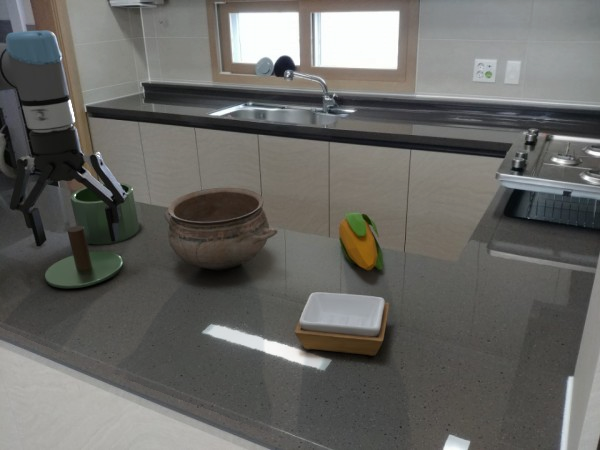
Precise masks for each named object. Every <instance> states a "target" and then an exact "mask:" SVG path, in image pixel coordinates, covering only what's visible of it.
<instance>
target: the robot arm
mask: <svg viewBox="0 0 600 450" xmlns="http://www.w3.org/2000/svg"><path fill="white" fill-rule="evenodd" d="M9 90H10V91H11V90H17V91H18V96H19V99H20V105H21V106H22V111H23V115H24V119H25V123H26V127H27V128H28V129H29V130H30V132H29V133H28V136H29V139H30V144H31V147H32V152H33V153H34V157H30V156H29V155H27V154H26V155H23V156H21V157H20V158H18V159H17V160H16V166H17V173H16V174H17V175H16V178H15V181H14V187H13V190H12V195H11V198H10V203H9V209H10V210H11V211H20V212H21V213H22V214H23V215H22V216H23V218H24V223H25V226H26V227H27V229H31V230H32V234H33V238H34V241H35V245H36V247H42V246H43V245H44V244H45V243H46V241H47V236H46V232H45V228H44V225H43V224H44V223H43V221H42V217H41V213H40V212H41V211H40V209H39V207H34V206H35V204H36V202H37V200H39V198H40V196H41V195H42V193H43V191H44V190H45V188H46V187H47V185H48V183H49V182H50V181H51V182H53V183H57V182H61V181H65V182H72V181H73V180H75V181H76V182H77V183H79V184H82V185H83V186H84V187H87V188H88V189H89V190H90V191H91V192H93V193H94V194H95V195H96V196H97V197H99V198H100V199H101V200H102V201H103V202H104V203H106V204H107V207H106V208H105V213H106V218H107V222H108V227H109V232H110V237H111V242H116V240H117V239H118V237H119V236H120V235H119V230H118V225H117V223H119V221H120V220H121V214H120V209H119V204H122V203H124V202H125V200H126V199H127V198H128V195H127V193H126V192H125V191H124V189H123V188H122V187H121V185H120V184H119V183H120V182H119V181H118V180H117V179H116V177H115V175H114V174H113V173H112V172H111V170H110V169H109V168H108V166H107V165H106V164H105V162H104V159H103V156H102V153H101V151H99V150H96V151H94V152H93V153H88V154H84V153H83V152H82V147H81V142H80V137H79V132H78V128H77V127H76V126H75V125H73V124H75V122H76V119H75V115H74V110H73V105H72V100H71V97H70V92H69V87H68V83H67V76H66V71H65V67H64V62H63V53H62V51H61V50H60V47H59V43H58V39H57V36H56V34H55V33H54V32H53V31H51V30H47V29H46V30H45V29H44V30H24V31H14V32H9V33H7V34H6V37H5V42H2V41H0V92H2V91H3V92H4V91H9ZM85 163H87V164H88V165H89V167H92V169H93V170H94V172H95V174H96V175H97V176H98V177H99V179H100V180H101V181H102V183H101V182H100V181H98V179H96V178H95V177H94V176H93V175H92V174H91V172H90V171H89V170H88V169H87V168H86V167H84V166H85ZM34 166H35V167H36V168H37V169H38V170H39V171H40V172H41V173H40V174H39V177H38V178H37V180H36V182H35V184H34V186H33V187H32V189H31V191H30V192H29V194H28V196H27V198H26V199H25V201H24V198H25V195H26V191H27V187H28V183H29V180H30V175H31V171H32V169H33V168H34ZM102 184H105V185H106V186H107V188H108V189H109V190H110V191H109V190H108V189H107V188H106V187H104V186H103V185H102ZM116 243H117V242H116Z"/></svg>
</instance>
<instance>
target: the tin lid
mask: <svg viewBox="0 0 600 450" xmlns="http://www.w3.org/2000/svg"><path fill="white" fill-rule="evenodd" d="M67 235H68V239H69V240H68V241H69V244H70V247H71V252H72V255H70V256H67V257H65V258H62V259H61V260H59V261H56V262H54V263H53V264H52V265H50V266H49V267H48V269H46V271H45V274H44V279H45V281H46V283H47V284H48V285H50V286H52V287H54V288H59V289H78V288H85V287H90V286H93V285H97V284H100V283H102V282H105V281H106V280H109V279H110V278H112V277H114V276H115V275H116V274H117V273H119V271H121V269H122V267H123V259H122V257H121V256H120V255H119V254H117V253H114V252H111V251H105V250H96V251H94V250H93V251H89V246H88V245H89V244H87V241H86V236H85V232H84V227H83V226H77V225H75V226H70V227H69V228H67Z"/></svg>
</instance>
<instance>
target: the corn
mask: <svg viewBox="0 0 600 450" xmlns="http://www.w3.org/2000/svg"><path fill="white" fill-rule="evenodd" d="M344 217H345V218H344V219H343V220H341V222H340V224H339V227H338V236H339V237H338V238H339V244H340V247H341V250H342V251H343V254H344V256H345V257H346V259H347V260H348V262H350V263H351V264H352V265H357V266H358V267H360V268H362V269H364V270H366V271H370V270H373V268H374V267H375V268H376V269H377V270H382V269H383V265H384V256H383V251H382V249H381V246H380V244H379V242H378V240H377V238H379V237H380V236H379V233H378V228H377V225H376V222H375V221H374V220H373V219H372V218H371V217H370V216H369V215H367V214H365V213H361V212H348V213H346V214H344ZM371 227H372V229H371ZM372 230H373V231H374V232H373V231H372ZM374 233H375V234H376V236H377V238H376V236H375V234H374Z"/></svg>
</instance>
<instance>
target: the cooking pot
mask: <svg viewBox="0 0 600 450" xmlns="http://www.w3.org/2000/svg"><path fill="white" fill-rule="evenodd" d="M264 202H265V201H264V198H263V196H262V195H261V194H260V193H259V192H257V191H254V190H251V189H246V188H239V187H214V188H207V189H201V190H196V191H192V192H190V193H186V194H184V195H182V196H179V197H178V198H176V199H174V200H173V201H172V202H171V203H170V204H169V205H168V207H167V211H166V212H165V213H164V219H165V221H166V222H167V224H168V228H167V238H168V244H169V246H170V247H171V249H172V251H173V252H174V254H175V255H177V257H178V258H180V260H183V261H184V262H185V263H187V264H190V265H193V266H196V267H199V268H203V269H208V270H212V271H218V272H219V271H228V270H231V269H234V268H236V267H237V266H239V265H242V264H244V263H246V262H247V261H250V260H251V259H253V258H254V257H255V256H257V255H258V254H259V253H260V252H261V251H262V250H263V249H264V247H265V246H266V244H267V241H268V239H270V238H272V237H274V236H275V235H277V234H278V230H277V229H276V228H270V223H269V222H270V221H269V218H268V216H267V213H266V211H265V209H264V207H263V205H264Z"/></svg>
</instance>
